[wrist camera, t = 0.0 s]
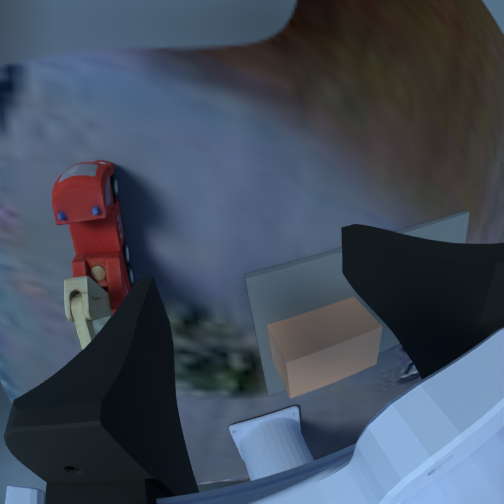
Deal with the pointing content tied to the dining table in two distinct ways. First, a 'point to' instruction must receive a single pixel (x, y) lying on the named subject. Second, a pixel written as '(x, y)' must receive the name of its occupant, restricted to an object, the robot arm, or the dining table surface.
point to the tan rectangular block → (324, 345)
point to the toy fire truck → (92, 244)
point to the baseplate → (322, 289)
